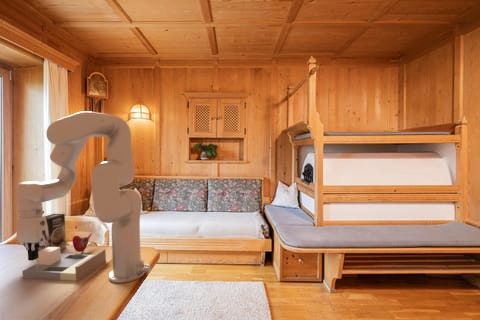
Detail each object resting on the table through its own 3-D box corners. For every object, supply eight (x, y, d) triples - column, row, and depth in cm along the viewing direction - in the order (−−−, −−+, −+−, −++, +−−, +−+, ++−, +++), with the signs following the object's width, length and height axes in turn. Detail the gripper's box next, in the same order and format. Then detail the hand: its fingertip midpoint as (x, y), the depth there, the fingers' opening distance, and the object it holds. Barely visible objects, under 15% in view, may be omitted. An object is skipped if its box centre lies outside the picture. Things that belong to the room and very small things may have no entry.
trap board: (105, 261, 113) (105, 249, 113) (78, 280, 97) (77, 266, 97) (57, 259, 116) (56, 247, 115) (22, 277, 100) (21, 264, 99)
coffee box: (49, 255, 119) (47, 218, 118) (37, 254, 121) (35, 218, 120) (67, 247, 128) (65, 213, 127) (55, 246, 130) (53, 212, 129)
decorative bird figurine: (70, 261, 113) (68, 238, 112) (89, 245, 130) (88, 225, 130) (77, 261, 113) (76, 237, 112) (95, 245, 131) (94, 224, 130)
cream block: (60, 259, 109) (60, 247, 109) (50, 265, 104) (50, 252, 104) (49, 258, 110) (48, 246, 109) (38, 264, 105) (38, 251, 105)
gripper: (55, 211, 109) (58, 256, 111) (22, 210, 111) (25, 254, 112) (40, 216, 102) (42, 264, 103) (4, 215, 104) (7, 262, 105)
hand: (33, 259), depth 108 cm, fingers closed
